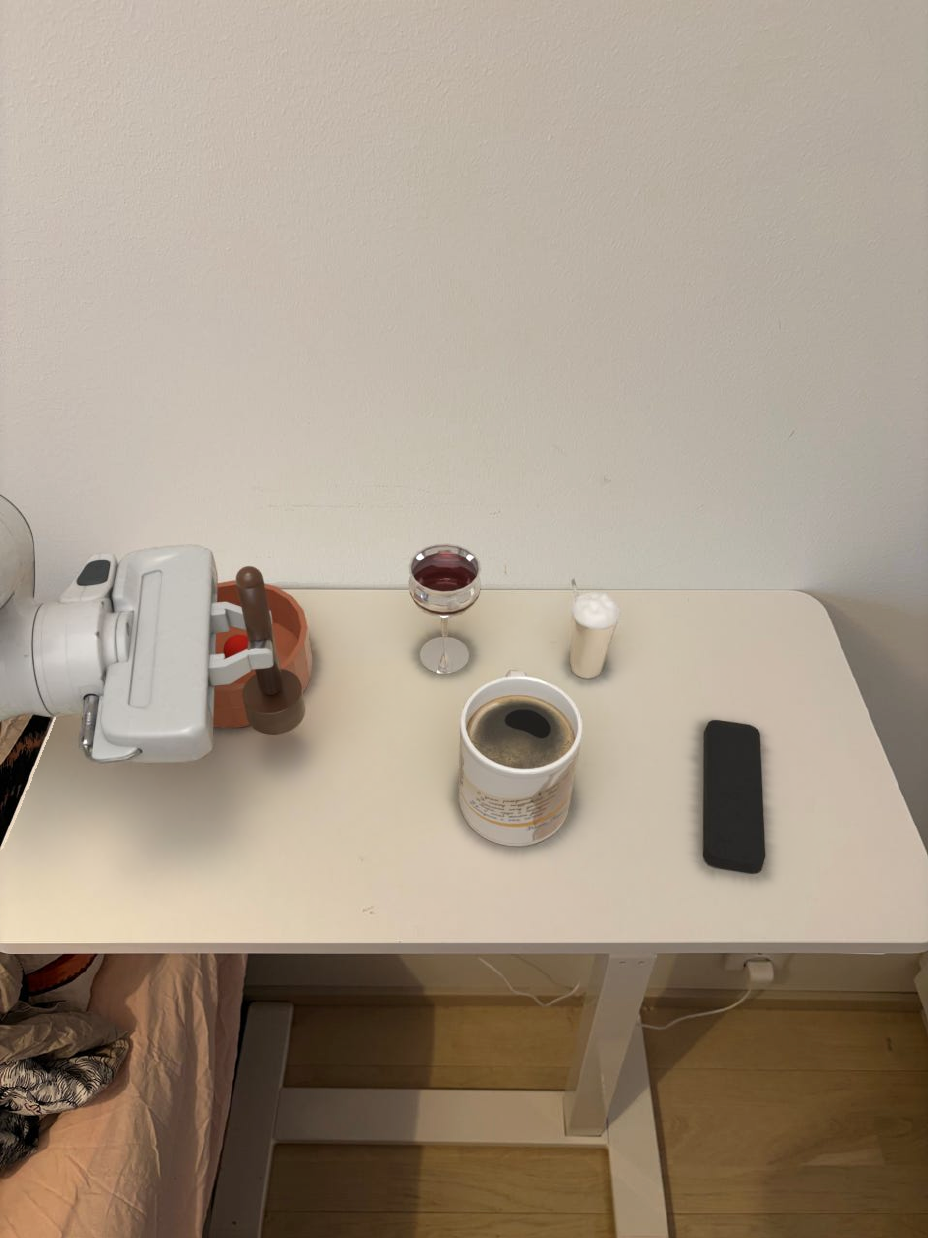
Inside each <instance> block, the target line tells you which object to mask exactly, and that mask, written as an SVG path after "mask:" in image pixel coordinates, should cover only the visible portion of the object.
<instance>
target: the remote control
mask: <svg viewBox="0 0 928 1238" xmlns="http://www.w3.org/2000/svg"><path fill="white" fill-rule="evenodd" d="M761 751H762V750H761V733H760V731H759V729H758V728H756V726H754V725H752V724H747V723H740V722H734V721H729V720H728V721H727V720H722V719H711V720H710V721H708V722H707V724H706V726H705V728H704V731H703V789H702V790H703V793H702V794H703V800H702V803H703V804H702V805H703V806H702V808H703V813H702V820H703V821H702V858H703V860H704V862H705V863H706V864H707V865H708V866H711V867H713V868H717V869H722V870H723V869H724V870H729V871H735V872H740V873H747V874H758V873H759V872H761V871H762V869H763V865H764V864H765V863H764V862H765V859H766V841H765V817H764V799H763V798H764V797H763V795H764V794H763V777H762V776H763V775H762V774H763V772H762V754H761V753H762V752H761Z"/></svg>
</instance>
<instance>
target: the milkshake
mask: <svg viewBox="0 0 928 1238" xmlns="http://www.w3.org/2000/svg"><path fill="white" fill-rule="evenodd" d="M570 581H571V586H572V589H573V594H574V598H575V599H574V600H573V602H572V604H571V606H570V607H571V608H570V646H569V647H570V648H569V649H570V651H569V653H570V654H569V666H570V669H571V672H572V673H573V674H574V675H575V676H577V677H579V678H581V679H588V680H591V679H593V678H596V677H599V676H600V674H601V673H602V671H603V669H604V666H605V662H606V659H607V657H608V653H609V650H610V646H611V643H612V639H613V638H614V637H613V636H614V634H615V631H616V628H617V625H618V623H619V619H620V617H621V608H620V605H619V604H618V602H617V601H616V600H615V599H614V598H613V597H612V596H611V595H610V594H608V593H607V592H597V591H589V592H585V593H583V594H581V595H579V590H578V587H577V583H576V582H577V581H576V579H575V578H572V579H571V580H570Z"/></svg>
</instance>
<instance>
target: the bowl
mask: <svg viewBox="0 0 928 1238" xmlns="http://www.w3.org/2000/svg"><path fill="white" fill-rule="evenodd" d="M264 586H265V591H266V596H267V602H268V607H269V610H270V611H271V615H272V620H273V633H274V638H275V644H276V649H277V654H278V660H279V665H280V669H285V670H288V671H290V672H292V673H293V674H295V675H296V676H297V677H298V678H299V680H300V682H301V684H302V690H303V692H304V691H305V690H306V689H307V686H308V684H309V682H310V679H311V677H312V671H313V654H312V653H313V652H312V646H311V640H310V639H311V638H310V635H309V627H308V622H307V618H306V615H305V610H304V608H302V606H301V605H300V604H299V602H298V601H297V600H296V598H295V597H294V596H293V595H291V594H290V593H288V592H287V591H285V590H283V589H281V588H280V587H278V586H276V585H272V584H268V583H265V582H264ZM217 602H229V603H231V604H234V605H237V606H240V607H241V604H240V599H239V595H238V590H237V586H236V579H234V580H229V581H221V582H218V592H217ZM234 635H245V636H247V631H246V630H243V629H240V628H236V627H232V626H230V631H229V632H220V633H216V654H222V653H223V654H224V651H223V649H224V645H225V642H226V641H227V640H228V639H229V638H230V637H232V636H234ZM247 637H248V636H247ZM254 674H256V672H255V669H254V670H251V671H250V672H249V673H247V674H245V675H244V676H242V677H240V678H239V679H237V680H235V681H234V682H232V683H230V684H226V685H217V686H215V687H214V719H213V728H222V729H233V728H234V729H235V728H242V727H251V725H250V724H249V722H248V719H247V715H246V711H245V707H244V703H243V698H242V691H243V687H244V685H245V683H246V682H247V681H248V679H249V678H251V677H252V676H253V675H254Z"/></svg>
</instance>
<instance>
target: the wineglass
mask: <svg viewBox="0 0 928 1238" xmlns="http://www.w3.org/2000/svg"><path fill="white" fill-rule="evenodd" d="M481 572H482V566H481V561H480V560H479V558H478V557H477V555H476V554H475V553H474V552H472V551H471V550H470V549H469V548H467V547H464V546H461V545H460V544H459V545H458V544H453V543H435V544H431V545H428V546H425V547H423V548H422V549H420V550H418V551H416V553H415V554H414V555H413V556H412V557H411V559H410V561H409V564H408V574H409V577H408V591H409V595H410V597H411V599H412V600H413V602H414V604H415V606H416V607H417V608H418V609H420V611H422V612H423V613H425V614H427V615H430V616H432V617H435V618H440V626H441V636H437V637H435V638H432V639H430V640H427V642H425V643H424V644H423V646H421V648H420V652H419V658H420V659H419V660H420V662H421V663H422V665H423V666H424V667H425V668H426V669H427V670H429V671H431V672H433V673H437V674H443V675H445V674H452V673H455V672H458V671H460V670H461V669H463V668H464V667H465V666H466V665H467V664H468V662H469V659H470V652H469V649H468V647H467V645H466V644H465V643H464V642H462V641H461V640H459V639H457V638H455V637H450V636H448V631H449V618H454V617H457V616H461V615H463V614H465V613H466V612H468V611H469V610H471V608H472V607H473V606H475V604H476V602H477V600H478V599H479V597H480V595H481V590H482V588H481V587H482V581H481V576H480V575H481Z"/></svg>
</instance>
